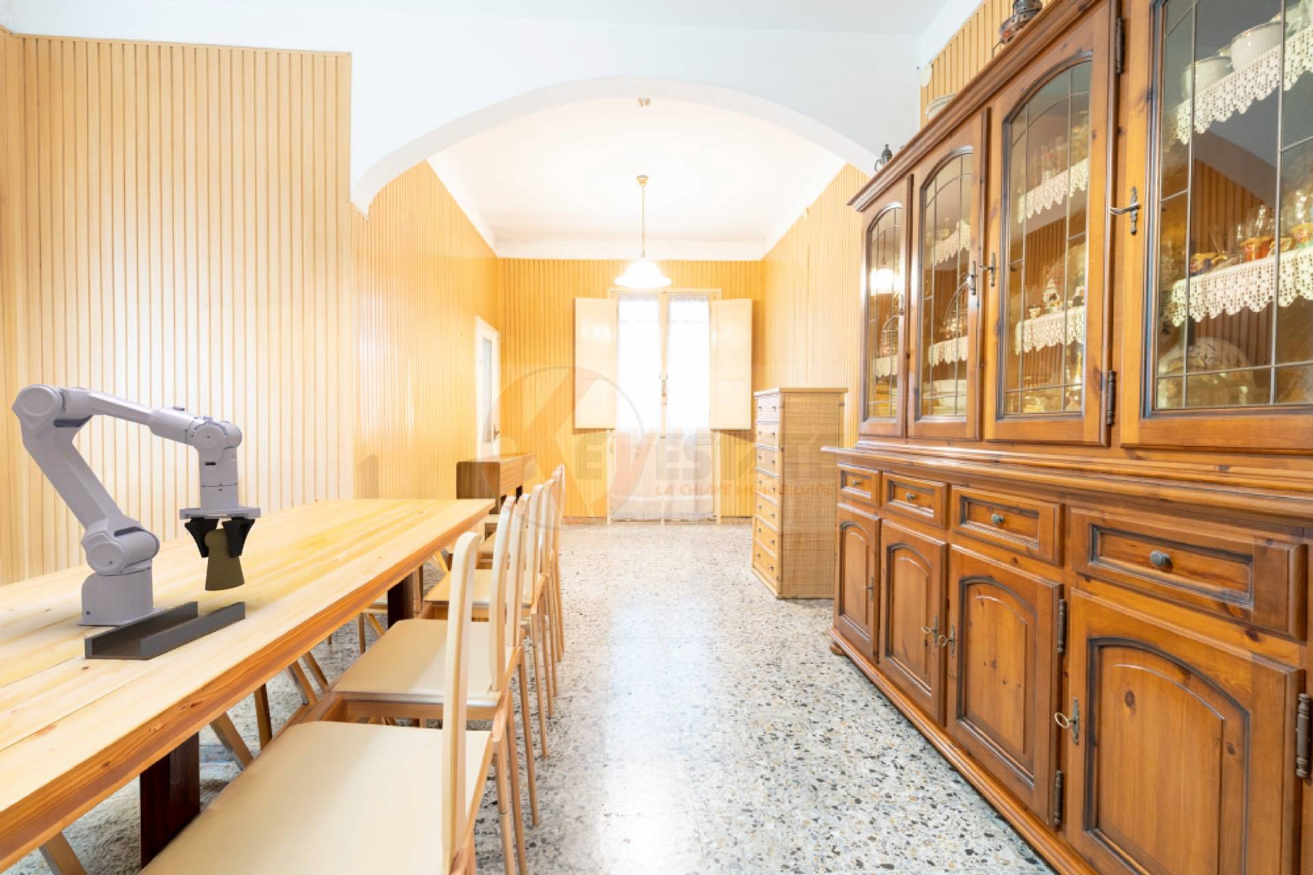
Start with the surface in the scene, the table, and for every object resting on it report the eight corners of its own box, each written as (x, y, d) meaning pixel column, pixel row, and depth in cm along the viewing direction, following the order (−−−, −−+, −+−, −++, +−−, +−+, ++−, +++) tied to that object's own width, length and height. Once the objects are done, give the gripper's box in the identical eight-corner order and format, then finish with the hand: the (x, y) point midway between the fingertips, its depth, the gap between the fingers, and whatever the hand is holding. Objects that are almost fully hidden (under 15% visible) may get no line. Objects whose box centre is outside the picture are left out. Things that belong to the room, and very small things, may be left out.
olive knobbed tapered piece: (222, 591, 103) (219, 532, 103) (196, 590, 104) (192, 531, 104) (252, 581, 109) (249, 525, 108) (227, 580, 110) (224, 525, 110)
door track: (85, 658, 85) (84, 638, 85) (192, 617, 103) (191, 601, 103) (148, 659, 84) (147, 639, 84) (245, 618, 102) (244, 601, 102)
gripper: (271, 482, 109) (274, 551, 110) (201, 483, 110) (203, 551, 110) (242, 486, 102) (245, 560, 103) (167, 487, 103) (170, 560, 103)
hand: (221, 556), depth 106 cm, fingers closed on olive knobbed tapered piece, 5 cm apart
